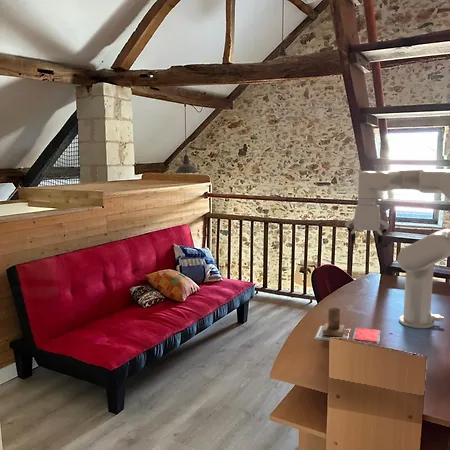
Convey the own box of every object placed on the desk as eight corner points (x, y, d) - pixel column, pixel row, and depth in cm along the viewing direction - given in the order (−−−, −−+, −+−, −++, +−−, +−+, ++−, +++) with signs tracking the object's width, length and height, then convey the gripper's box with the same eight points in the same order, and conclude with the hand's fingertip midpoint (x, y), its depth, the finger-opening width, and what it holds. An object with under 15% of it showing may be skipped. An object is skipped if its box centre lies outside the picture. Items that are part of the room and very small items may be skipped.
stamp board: (352, 329, 172) (352, 328, 172) (348, 343, 160) (348, 342, 160) (320, 325, 176) (320, 324, 176) (314, 339, 164) (314, 337, 164)
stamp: (344, 331, 170) (345, 307, 168) (342, 338, 164) (342, 313, 162) (325, 329, 173) (325, 305, 171) (322, 336, 166) (322, 311, 164)
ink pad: (380, 333, 168) (380, 329, 168) (379, 347, 157) (379, 342, 157) (355, 330, 171) (355, 326, 171) (351, 343, 160) (351, 339, 160)
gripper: (390, 201, 184) (389, 243, 187) (346, 200, 190) (345, 240, 193) (390, 203, 177) (388, 247, 180) (344, 202, 184) (343, 244, 187)
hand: (366, 243), depth 187 cm, fingers open, 9 cm apart
